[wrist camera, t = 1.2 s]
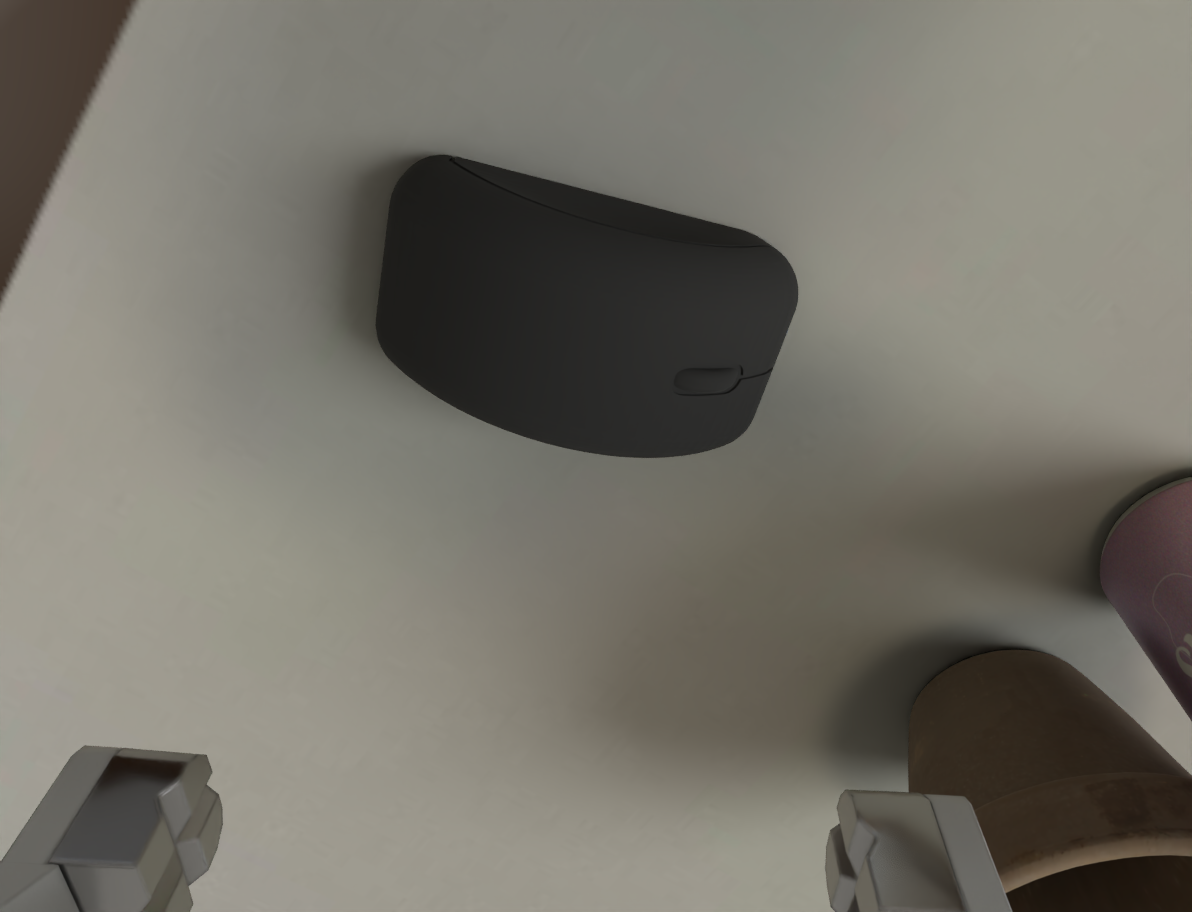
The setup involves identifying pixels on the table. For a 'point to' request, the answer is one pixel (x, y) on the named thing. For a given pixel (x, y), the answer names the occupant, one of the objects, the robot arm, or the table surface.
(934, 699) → the flower pot
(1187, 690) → the beverage can
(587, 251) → the computer mouse
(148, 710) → the table surface
